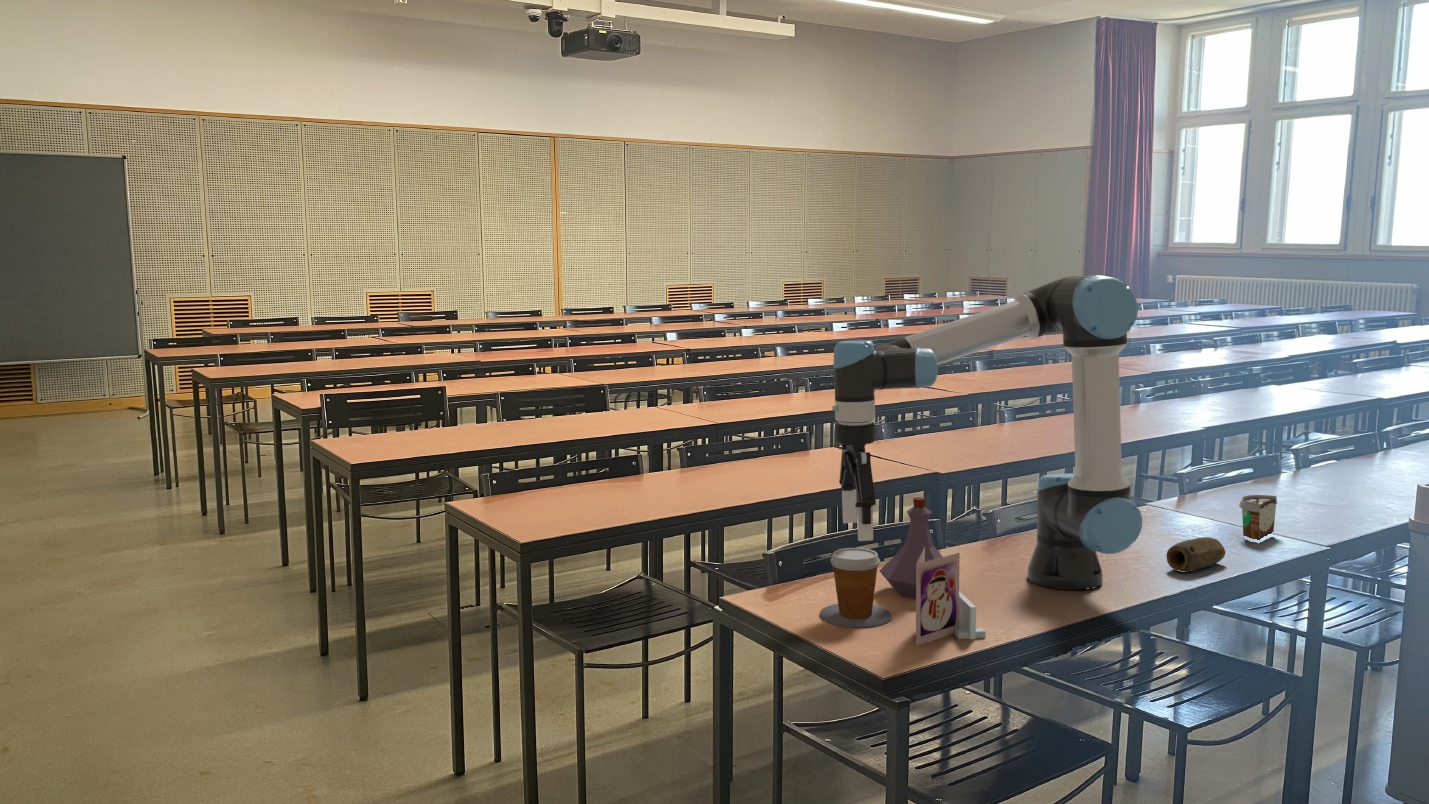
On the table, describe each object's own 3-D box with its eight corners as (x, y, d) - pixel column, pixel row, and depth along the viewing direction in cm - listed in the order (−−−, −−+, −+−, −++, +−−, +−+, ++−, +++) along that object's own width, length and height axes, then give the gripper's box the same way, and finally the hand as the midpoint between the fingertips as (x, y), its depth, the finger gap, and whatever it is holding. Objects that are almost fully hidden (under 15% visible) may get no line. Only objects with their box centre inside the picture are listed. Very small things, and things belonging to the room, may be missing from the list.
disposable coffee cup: (821, 614, 194) (820, 554, 193) (851, 602, 201) (850, 544, 199) (860, 625, 187) (859, 563, 186) (890, 613, 194) (889, 552, 193)
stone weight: (1195, 578, 213) (1196, 548, 213) (1163, 571, 219) (1164, 541, 218) (1227, 564, 223) (1228, 535, 222) (1196, 558, 228) (1197, 530, 227)
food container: (1248, 531, 250) (1250, 492, 249) (1275, 535, 246) (1277, 495, 245) (1229, 540, 242) (1231, 500, 241) (1256, 545, 237) (1258, 504, 236)
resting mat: (882, 602, 201) (882, 600, 201) (900, 626, 188) (900, 624, 188) (813, 605, 200) (813, 604, 200) (827, 629, 187) (827, 628, 186)
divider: (956, 608, 197) (956, 578, 196) (986, 638, 180) (986, 606, 179) (931, 609, 197) (931, 579, 196) (959, 639, 180) (959, 607, 179)
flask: (862, 589, 210) (862, 496, 208) (921, 576, 218) (922, 487, 216) (915, 611, 196) (916, 511, 194) (976, 596, 204) (977, 500, 202)
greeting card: (919, 647, 177) (920, 565, 175) (889, 635, 183) (889, 556, 181) (962, 632, 183) (963, 553, 182) (931, 622, 189) (932, 545, 188)
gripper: (823, 414, 201) (825, 516, 204) (849, 433, 177) (852, 549, 179) (859, 412, 202) (862, 514, 205) (891, 430, 177) (893, 546, 180)
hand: (857, 531), depth 192 cm, fingers open, 13 cm apart
